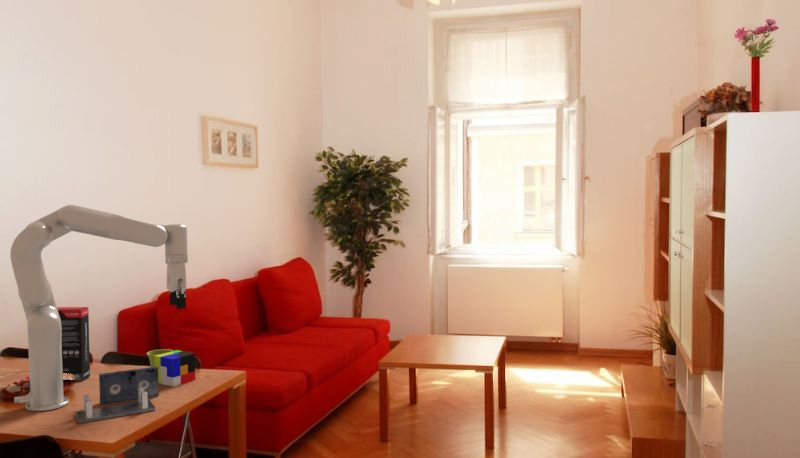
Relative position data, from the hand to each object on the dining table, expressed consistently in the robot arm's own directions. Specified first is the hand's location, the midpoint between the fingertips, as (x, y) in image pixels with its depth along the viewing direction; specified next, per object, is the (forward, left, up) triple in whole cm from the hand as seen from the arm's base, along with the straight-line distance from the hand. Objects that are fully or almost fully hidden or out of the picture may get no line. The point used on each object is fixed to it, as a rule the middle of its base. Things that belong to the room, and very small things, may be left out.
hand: (177, 306), depth 234 cm
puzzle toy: (0, +7, -29) cm, 30 cm away
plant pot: (-3, +20, -29) cm, 35 cm away
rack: (-24, -19, -29) cm, 42 cm away
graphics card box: (-34, +32, -29) cm, 55 cm away
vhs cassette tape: (-18, -7, -29) cm, 35 cm away
